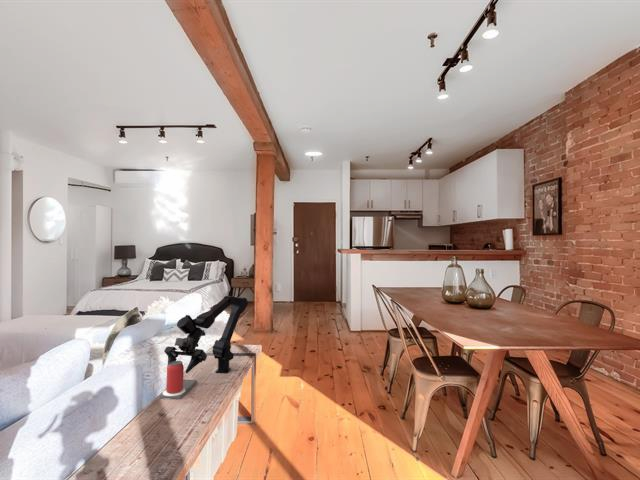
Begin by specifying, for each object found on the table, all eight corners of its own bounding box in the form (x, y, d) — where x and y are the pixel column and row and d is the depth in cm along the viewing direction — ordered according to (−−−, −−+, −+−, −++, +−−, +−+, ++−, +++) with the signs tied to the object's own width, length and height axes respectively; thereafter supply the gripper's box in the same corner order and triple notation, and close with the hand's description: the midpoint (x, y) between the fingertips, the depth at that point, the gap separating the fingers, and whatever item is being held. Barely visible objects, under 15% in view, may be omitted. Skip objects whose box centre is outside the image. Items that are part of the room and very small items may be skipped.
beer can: (172, 395, 141) (173, 366, 141) (162, 391, 144) (163, 363, 144) (186, 390, 146) (187, 362, 146) (176, 386, 150) (177, 359, 150)
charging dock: (178, 381, 159) (178, 378, 159) (197, 382, 159) (197, 379, 159) (158, 399, 140) (158, 395, 141) (179, 399, 140) (180, 396, 140)
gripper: (167, 328, 154) (149, 360, 143) (204, 331, 150) (188, 364, 139) (177, 341, 162) (161, 372, 151) (213, 344, 157) (198, 377, 146)
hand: (176, 371), depth 146 cm, fingers open, 9 cm apart
